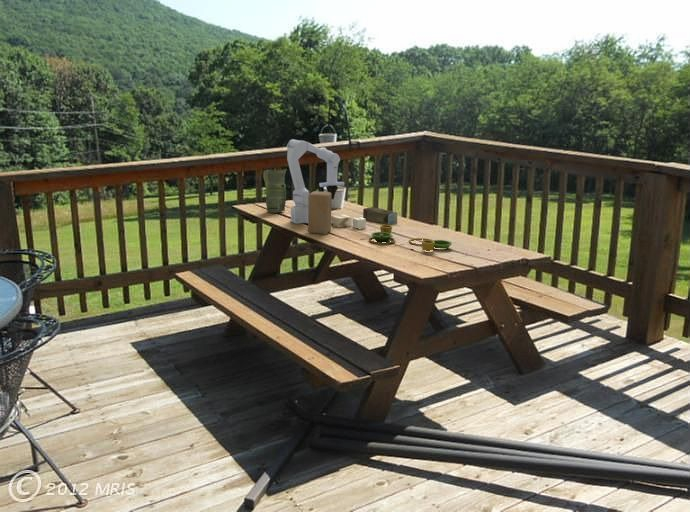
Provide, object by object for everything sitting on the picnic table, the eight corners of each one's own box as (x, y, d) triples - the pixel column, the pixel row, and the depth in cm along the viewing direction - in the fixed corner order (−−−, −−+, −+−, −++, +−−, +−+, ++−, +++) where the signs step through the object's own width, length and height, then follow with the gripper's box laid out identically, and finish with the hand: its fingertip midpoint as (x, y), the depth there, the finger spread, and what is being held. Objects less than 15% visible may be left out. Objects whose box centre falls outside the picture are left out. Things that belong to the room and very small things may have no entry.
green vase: (261, 212, 383) (261, 169, 377) (271, 209, 394) (271, 166, 388) (279, 214, 379) (278, 170, 373) (288, 210, 390) (288, 168, 384)
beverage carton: (387, 225, 359) (388, 212, 357) (362, 219, 372) (362, 207, 370) (397, 223, 364) (398, 211, 363) (371, 217, 378) (372, 206, 376)
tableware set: (356, 239, 326) (356, 227, 324) (399, 233, 342) (399, 221, 340) (413, 258, 294) (414, 244, 292) (457, 250, 310) (458, 236, 309)
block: (326, 234, 332) (327, 195, 327) (307, 233, 334) (307, 194, 329) (331, 230, 342) (332, 191, 336) (312, 229, 343) (312, 190, 338)
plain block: (338, 227, 350) (338, 218, 348) (331, 224, 356) (331, 215, 355) (351, 226, 353) (351, 217, 352) (344, 223, 360) (344, 214, 359)
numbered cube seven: (357, 229, 347) (357, 219, 345) (352, 227, 351) (352, 217, 350) (365, 228, 349) (365, 218, 348) (361, 226, 353) (361, 216, 352)
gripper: (323, 176, 361) (323, 201, 364) (347, 175, 367) (346, 199, 371) (317, 174, 367) (317, 199, 371) (341, 173, 373) (340, 197, 377)
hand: (331, 199), depth 371 cm, fingers closed
